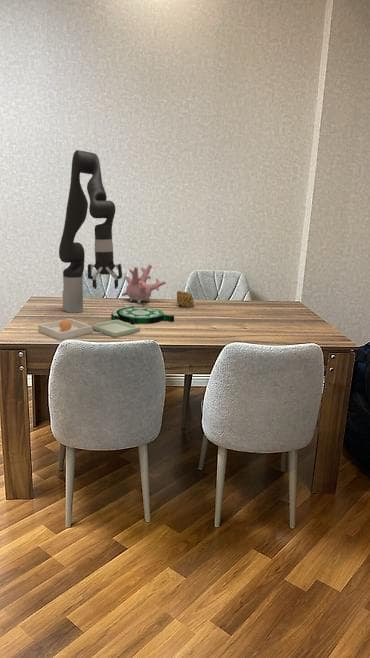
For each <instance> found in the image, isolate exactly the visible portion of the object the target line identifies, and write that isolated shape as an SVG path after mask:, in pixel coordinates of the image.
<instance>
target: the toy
mask: <svg viewBox="0 0 370 658" xmlns="http://www.w3.org/2000/svg"><path fill="white" fill-rule="evenodd" d="M152 266H153V265H151V264H148V266H147V267H146V268H144V267H143V266H142V267H141V268H140V270H141V272H142V273H141V276H139V268H138V266H134V269H133V270H132V269H129V273H130V274H131V275H132V277H130V276H125V277H124V278H125V280H126V282H127V283H128V284H127V286H126V290H125V291H124V292H122V293H121V296H122V297H125V296H128V297H129V302H131V303H132V302H133V301H136V303H137V304H141V303H142V302H143V301H146V302H149V301H150V297H151V295H152V292H153V291H154V290H156V291H160V289H159V288H160V287H161V286H163V285H166V284H167V283H166V281H165V280H164V281H160V280H159V278H157V279H156V280H155V283H152V284H148V283H147V280H150V279H152V276H151V275H150V272H151V270H152Z"/></svg>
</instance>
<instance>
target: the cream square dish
mask: <svg viewBox="0 0 370 658" xmlns="http://www.w3.org/2000/svg"><path fill="white" fill-rule="evenodd" d="M66 319H67V320H69V321H70V322H71V324H72V326H71V329H70V330H68V331H63V330H61V329H60V326H59V324H60V322H61V321H62V320H63V319H60V320H54V321H50V322H44V323H38V325H37V326H38V327H37V328H38V330H37V331H38V332H39V333H41V334H43V335H46V336H49V337H52V339H53V338H54V339H56V340H59V341H64V340H68V339H72V338H77V337H81V336H87V335H90V334H91V335H92V334H93V333H94V332H93V331H94V330H93V326H91V325H92V324H88V323H84V322H82V321H80V320H79V321H78V320H76V319H73V318H66Z"/></svg>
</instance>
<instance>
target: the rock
mask: <svg viewBox="0 0 370 658" xmlns="http://www.w3.org/2000/svg"><path fill="white" fill-rule="evenodd" d="M192 297H193V296H192V293H189V292H187V291H182V290H177V291H176V302H177V304H178V306H180V307H181V306H182V307H183V308H184V307H185V308H192V307H194V306H195V301H194V299H193V298H192Z"/></svg>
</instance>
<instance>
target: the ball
mask: <svg viewBox="0 0 370 658" xmlns="http://www.w3.org/2000/svg"><path fill="white" fill-rule="evenodd" d="M67 319H68V318H65V319H61V320H62V321H61V322H60V324H59V326H60V329H61V330H63V331H68V330H70V329H71V326H72V324H71V322H70V321H69V320H67Z"/></svg>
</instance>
